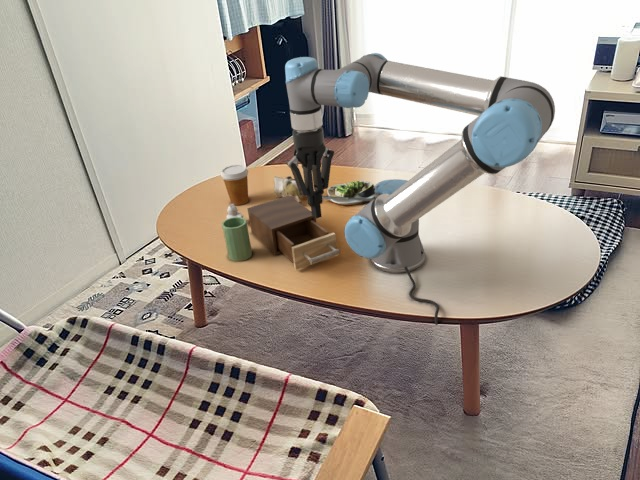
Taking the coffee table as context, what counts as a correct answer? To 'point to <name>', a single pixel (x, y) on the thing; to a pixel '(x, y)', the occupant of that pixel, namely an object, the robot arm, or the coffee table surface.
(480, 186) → the coffee table surface
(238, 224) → the pot
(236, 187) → the disposable coffee cup
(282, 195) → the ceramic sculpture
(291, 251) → the drawer
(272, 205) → the cabinet
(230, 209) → the white animal figurine
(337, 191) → the avocado toast plate
